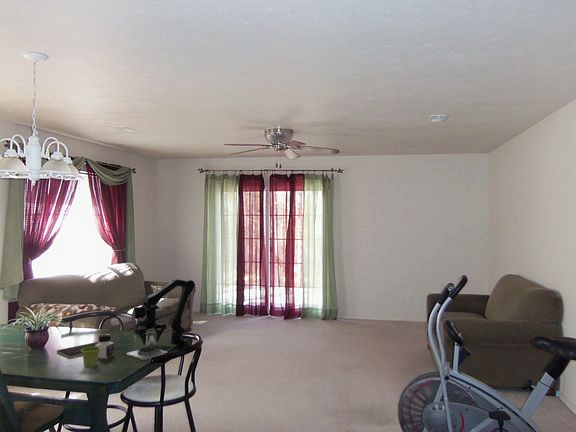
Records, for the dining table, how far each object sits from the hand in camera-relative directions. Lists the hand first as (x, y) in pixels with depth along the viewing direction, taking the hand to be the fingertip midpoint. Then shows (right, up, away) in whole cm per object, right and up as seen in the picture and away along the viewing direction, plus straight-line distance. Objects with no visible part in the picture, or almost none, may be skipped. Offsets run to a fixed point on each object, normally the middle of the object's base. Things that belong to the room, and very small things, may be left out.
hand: (150, 342), depth 270 cm
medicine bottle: (-19, -2, -20) cm, 28 cm away
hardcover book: (-36, -3, -10) cm, 37 cm away
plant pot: (-20, -2, -36) cm, 41 cm away
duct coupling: (0, -2, 0) cm, 2 cm away
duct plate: (+3, -2, -16) cm, 16 cm away
